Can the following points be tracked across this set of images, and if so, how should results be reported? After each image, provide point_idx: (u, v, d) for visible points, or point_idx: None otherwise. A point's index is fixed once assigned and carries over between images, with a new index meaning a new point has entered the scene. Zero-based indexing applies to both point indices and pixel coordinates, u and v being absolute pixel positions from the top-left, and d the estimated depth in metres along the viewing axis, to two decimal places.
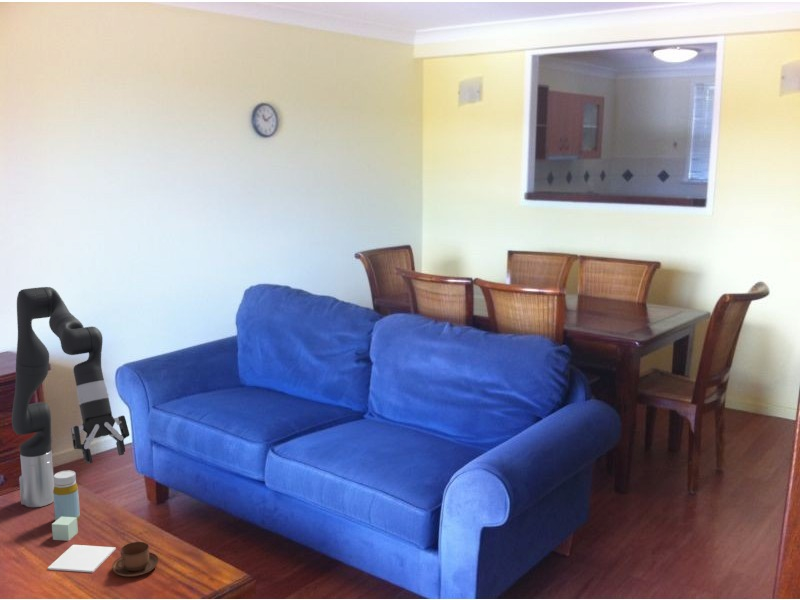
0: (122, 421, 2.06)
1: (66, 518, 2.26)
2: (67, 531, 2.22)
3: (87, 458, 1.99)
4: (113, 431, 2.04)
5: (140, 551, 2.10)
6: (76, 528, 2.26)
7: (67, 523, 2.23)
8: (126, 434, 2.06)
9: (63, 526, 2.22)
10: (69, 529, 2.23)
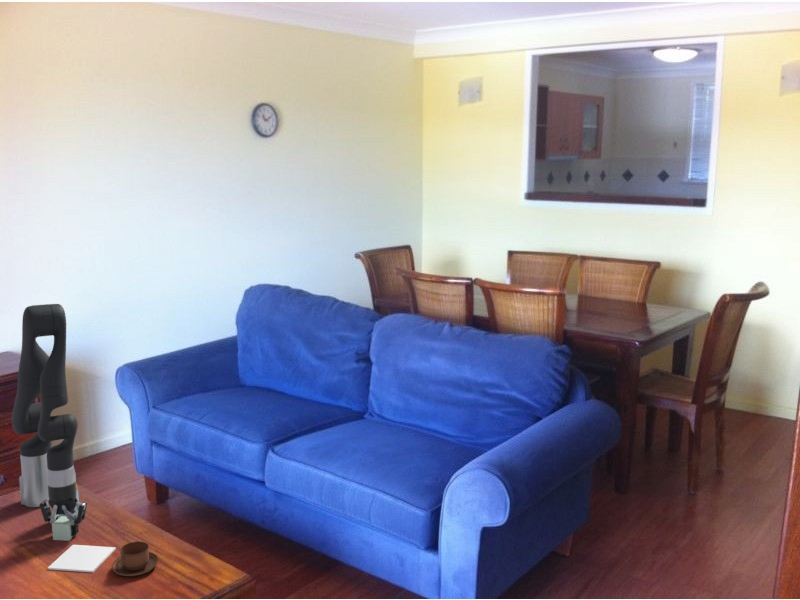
0: (79, 510, 2.22)
1: (66, 518, 2.26)
2: (67, 531, 2.22)
3: None
4: (67, 515, 2.22)
5: (140, 551, 2.10)
6: None
7: (67, 523, 2.23)
8: (77, 521, 2.23)
9: (63, 526, 2.22)
10: (69, 529, 2.23)
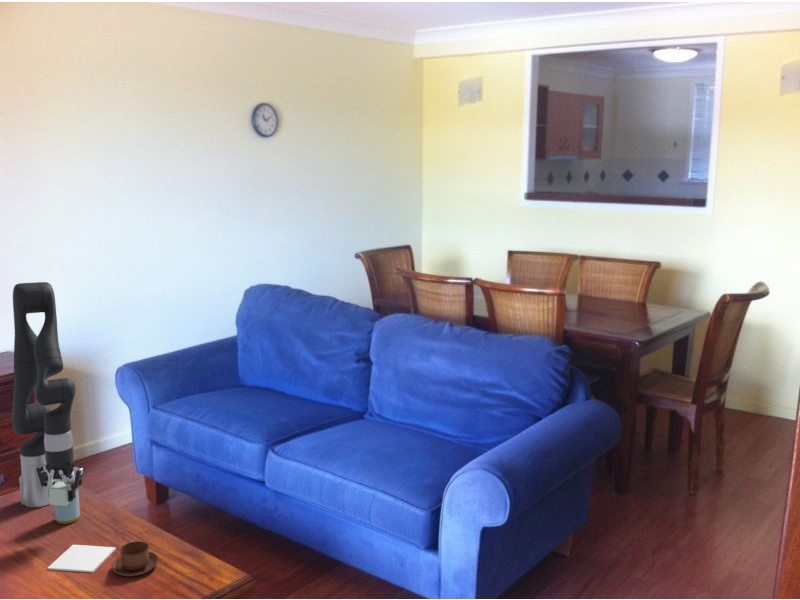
0: (76, 475, 2.20)
1: (63, 483, 2.24)
2: (64, 496, 2.20)
3: None
4: (64, 480, 2.20)
5: (140, 551, 2.10)
6: None
7: (64, 488, 2.21)
8: (74, 486, 2.21)
9: (60, 491, 2.20)
10: (66, 494, 2.21)
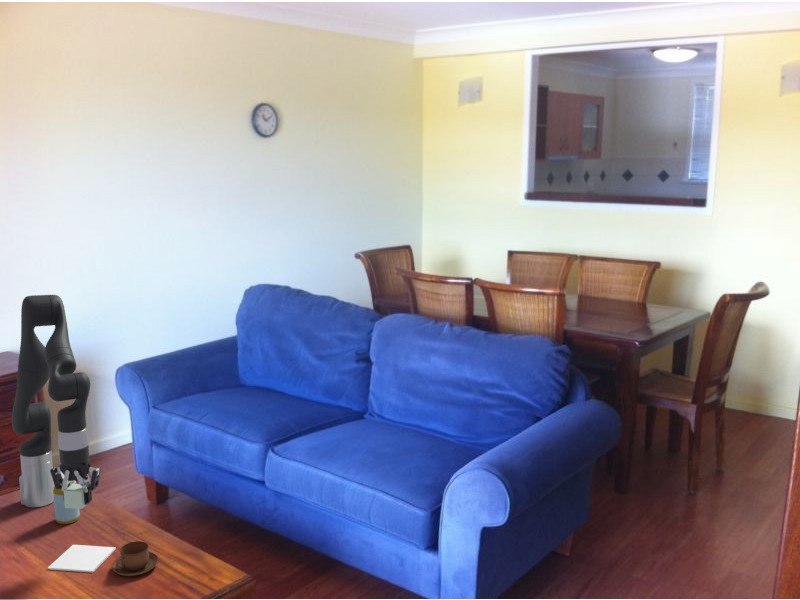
0: (92, 475, 2.07)
1: (78, 485, 2.11)
2: (80, 498, 2.07)
3: None
4: (80, 481, 2.07)
5: (140, 551, 2.11)
6: None
7: (80, 490, 2.08)
8: (90, 488, 2.08)
9: (76, 493, 2.07)
10: (82, 496, 2.08)
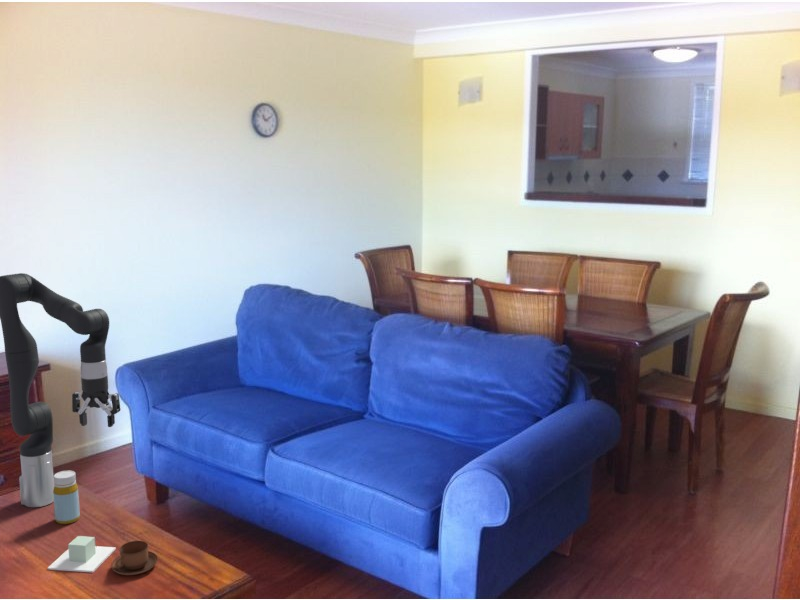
0: (112, 400, 2.29)
1: (83, 538, 2.13)
2: (84, 552, 2.09)
3: (80, 421, 2.32)
4: (102, 406, 2.29)
5: (139, 550, 2.11)
6: (94, 548, 2.13)
7: (84, 543, 2.09)
8: (114, 412, 2.30)
9: (80, 547, 2.09)
10: (86, 550, 2.09)
